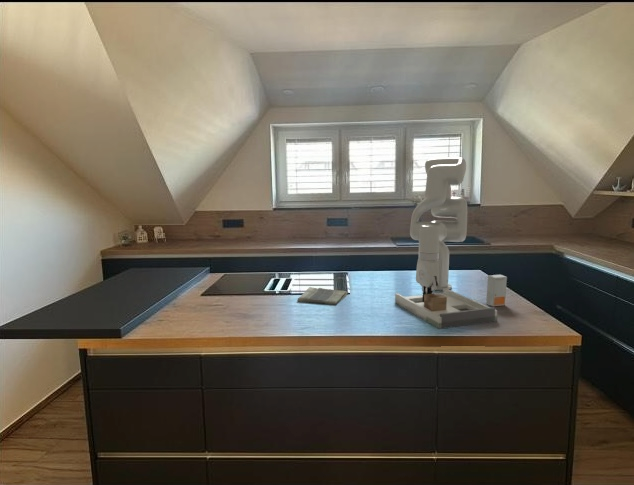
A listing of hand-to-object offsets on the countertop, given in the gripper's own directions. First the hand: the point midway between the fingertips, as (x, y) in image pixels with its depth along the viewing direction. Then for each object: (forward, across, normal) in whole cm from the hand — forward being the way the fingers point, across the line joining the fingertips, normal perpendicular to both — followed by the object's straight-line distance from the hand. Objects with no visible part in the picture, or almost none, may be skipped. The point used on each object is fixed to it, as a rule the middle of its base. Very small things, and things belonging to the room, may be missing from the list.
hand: (427, 302), depth 163 cm
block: (+1, +6, 0) cm, 6 cm away
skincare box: (+3, +4, +29) cm, 30 cm away
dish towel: (+4, -28, -34) cm, 45 cm away
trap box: (+3, +4, +4) cm, 7 cm away
